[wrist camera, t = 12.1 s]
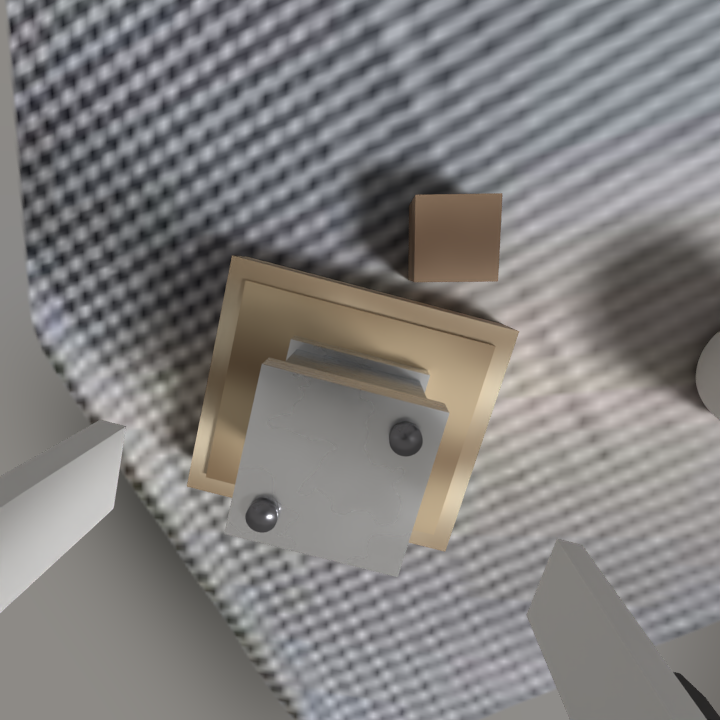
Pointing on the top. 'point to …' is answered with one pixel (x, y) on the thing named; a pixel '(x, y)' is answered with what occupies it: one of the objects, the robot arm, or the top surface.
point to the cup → (710, 375)
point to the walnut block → (454, 237)
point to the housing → (337, 456)
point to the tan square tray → (361, 334)
